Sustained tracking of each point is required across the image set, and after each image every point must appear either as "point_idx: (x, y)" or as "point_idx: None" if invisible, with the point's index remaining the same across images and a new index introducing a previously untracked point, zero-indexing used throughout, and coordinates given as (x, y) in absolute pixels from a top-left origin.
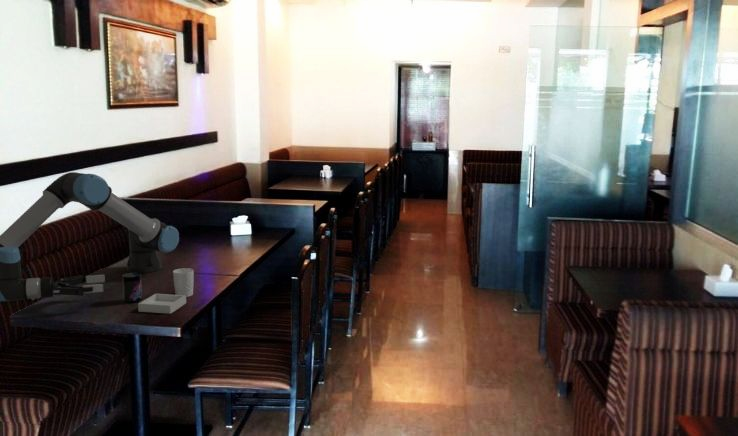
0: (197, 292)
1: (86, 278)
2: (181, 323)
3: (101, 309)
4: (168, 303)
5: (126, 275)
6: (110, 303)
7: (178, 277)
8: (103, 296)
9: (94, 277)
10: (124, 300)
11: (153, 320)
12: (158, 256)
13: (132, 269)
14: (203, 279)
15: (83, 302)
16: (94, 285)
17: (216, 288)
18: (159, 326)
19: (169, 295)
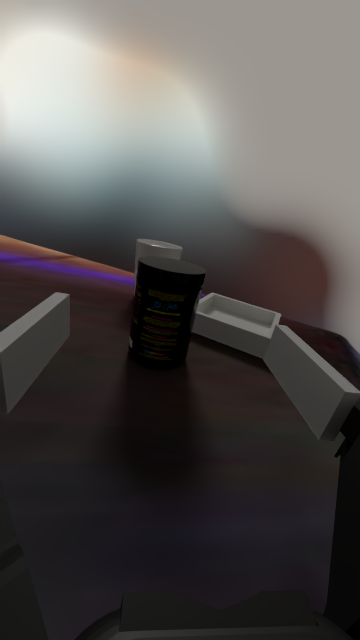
0: None
1: (5, 369)
2: (325, 331)
3: (244, 442)
4: (221, 317)
5: (177, 268)
6: (161, 407)
7: (177, 259)
8: (8, 424)
9: (41, 330)
10: (169, 365)
11: (324, 351)
12: None
13: None
14: (57, 269)
15: (55, 558)
16: (309, 348)
17: (133, 277)
18: (355, 351)
19: (204, 301)
